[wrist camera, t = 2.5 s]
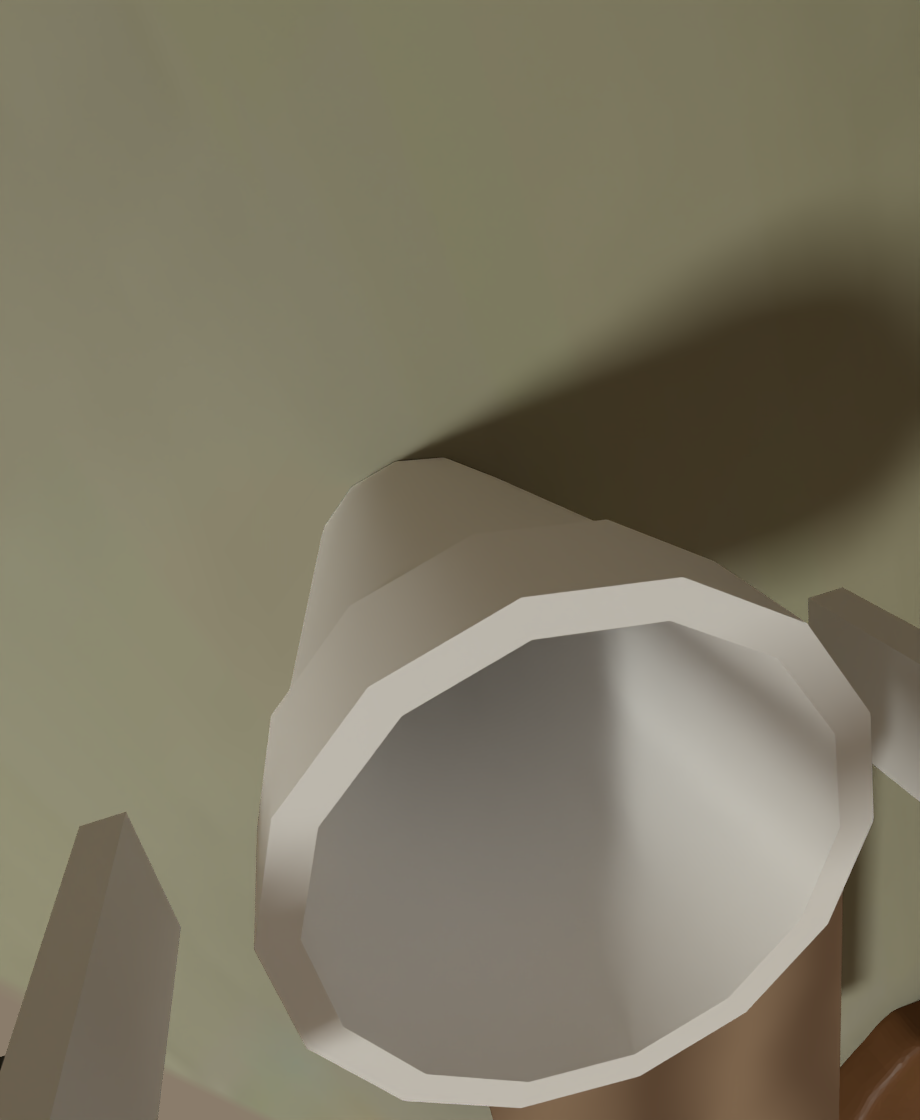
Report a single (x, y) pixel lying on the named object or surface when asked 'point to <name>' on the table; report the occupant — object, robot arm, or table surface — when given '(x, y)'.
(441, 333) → the table surface
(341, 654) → the foam cup
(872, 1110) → the plant
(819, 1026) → the walnut shelf stand
